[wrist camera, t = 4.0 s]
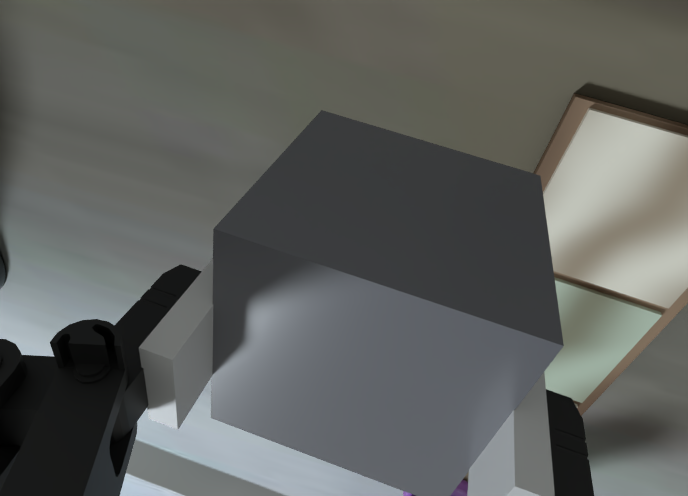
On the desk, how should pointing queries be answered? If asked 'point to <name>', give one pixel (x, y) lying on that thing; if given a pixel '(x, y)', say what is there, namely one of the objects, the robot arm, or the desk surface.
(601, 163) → the board
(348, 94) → the desk surface
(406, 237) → the grey plain cubic block
